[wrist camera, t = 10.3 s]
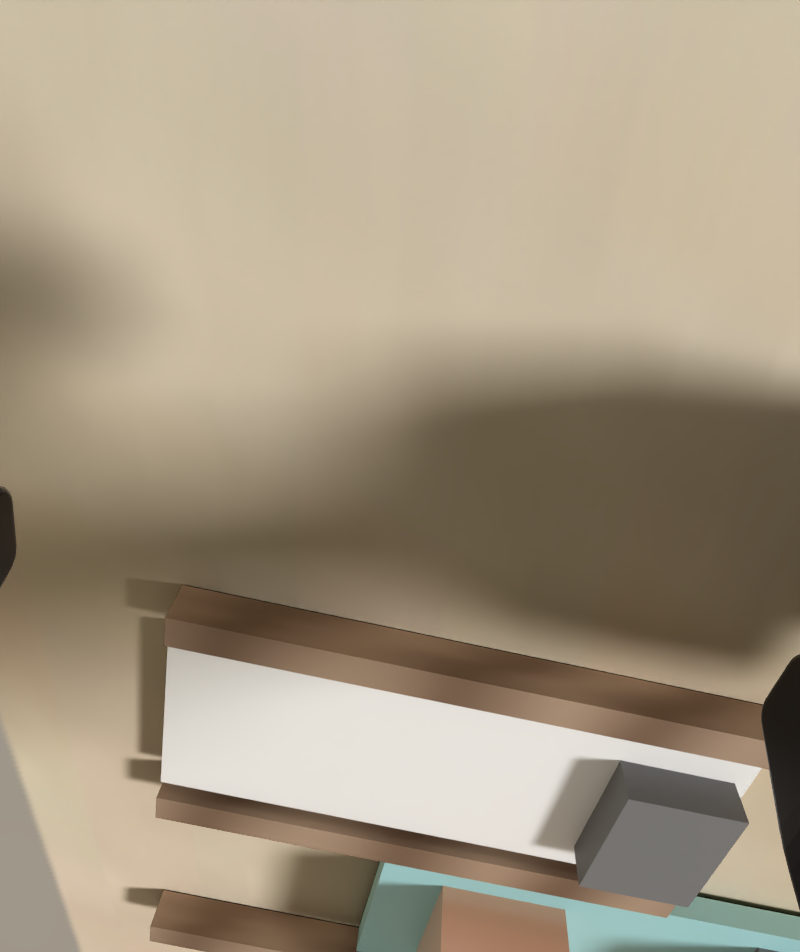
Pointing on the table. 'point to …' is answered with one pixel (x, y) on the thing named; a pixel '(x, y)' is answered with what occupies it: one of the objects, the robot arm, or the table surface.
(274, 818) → the lane rails
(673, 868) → the strip
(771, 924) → the strip
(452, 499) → the table surface
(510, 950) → the cube
